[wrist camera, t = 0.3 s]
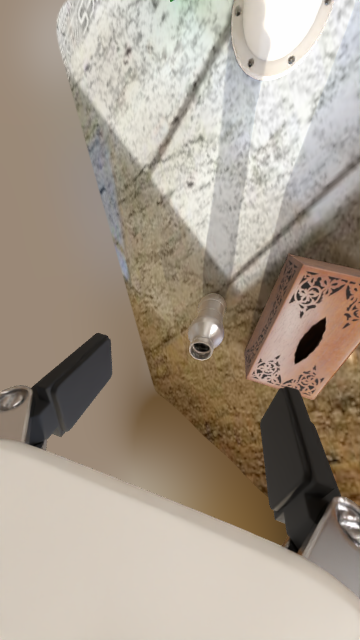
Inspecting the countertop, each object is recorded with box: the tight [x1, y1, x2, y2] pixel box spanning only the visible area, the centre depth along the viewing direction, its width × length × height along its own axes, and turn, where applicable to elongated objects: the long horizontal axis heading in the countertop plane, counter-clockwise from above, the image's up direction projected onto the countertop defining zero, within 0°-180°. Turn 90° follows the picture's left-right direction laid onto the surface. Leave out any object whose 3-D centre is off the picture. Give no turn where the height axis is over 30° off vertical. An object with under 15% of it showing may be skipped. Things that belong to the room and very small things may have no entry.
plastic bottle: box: [188, 293, 227, 360], centre depth 39 cm, size 6×7×20 cm
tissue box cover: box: [245, 254, 360, 400], centre depth 40 cm, size 26×14×10 cm, turn 169°
